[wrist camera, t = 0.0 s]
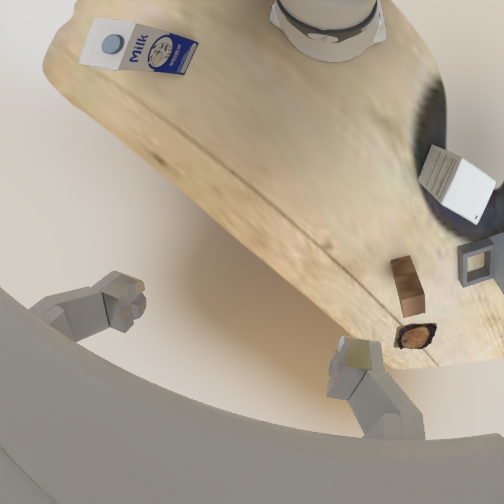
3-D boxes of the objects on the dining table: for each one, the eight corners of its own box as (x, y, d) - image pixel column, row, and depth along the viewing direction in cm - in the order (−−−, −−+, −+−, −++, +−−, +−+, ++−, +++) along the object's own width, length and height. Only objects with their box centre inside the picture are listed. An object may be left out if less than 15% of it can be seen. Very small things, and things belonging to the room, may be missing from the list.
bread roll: (392, 346, 59) (393, 357, 56) (397, 322, 55) (399, 334, 52) (430, 343, 55) (432, 354, 52) (438, 319, 51) (441, 330, 48)
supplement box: (463, 162, 34) (498, 182, 24) (447, 197, 39) (477, 227, 28) (430, 142, 35) (462, 156, 25) (415, 180, 39) (440, 205, 29)
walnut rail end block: (393, 277, 49) (403, 318, 39) (390, 260, 48) (401, 300, 38) (411, 272, 48) (425, 312, 38) (409, 255, 46) (424, 294, 36)
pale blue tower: (458, 280, 45) (485, 339, 31) (457, 245, 42) (492, 300, 27) (508, 263, 39) (542, 314, 25) (510, 228, 36) (552, 274, 21)
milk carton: (170, 34, 36) (93, 17, 20) (199, 42, 37) (126, 19, 20) (156, 66, 40) (77, 63, 24) (183, 75, 41) (106, 71, 24)
